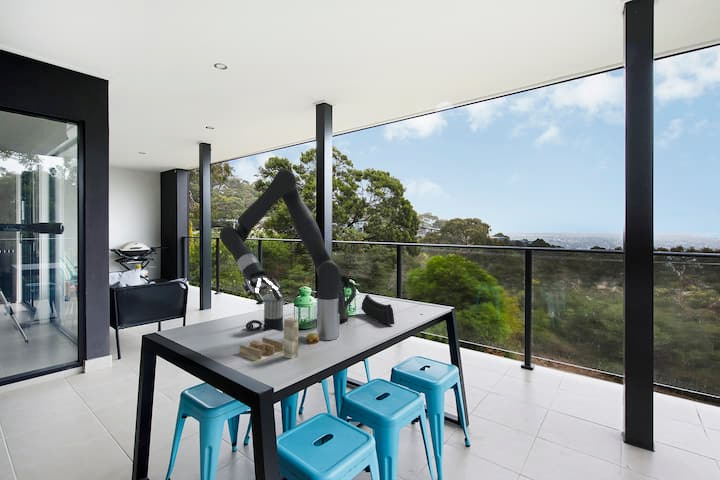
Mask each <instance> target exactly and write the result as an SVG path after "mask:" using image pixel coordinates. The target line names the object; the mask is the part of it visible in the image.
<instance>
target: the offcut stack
mask: <svg viewBox="0 0 720 480" xmlns="http://www.w3.org/2000/svg"><path fill="white" fill-rule="evenodd" d="M253 341H254V340H253ZM253 341H251V342H249V345H248V346H249V347H252V348H256V349H259V350H262V355H265V354H267V350H265V347H266V344H265V343H263V342H262V341H259V340H255V341H254V342H253Z"/></svg>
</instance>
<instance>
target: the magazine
mask: <svg viewBox="0 0 720 480" xmlns="http://www.w3.org/2000/svg"><path fill="white" fill-rule="evenodd" d="M360 307H361V308H360V309H361V311H362V312H363V313H364V314H365V315H366V314H367V315H366V316H368V317H369V318H370V317H371V319H372V318H373V319H372V320H374V319H375V320H374V321H376V320H377V321H376V322H378V321H379V322H378V323H380V324H385V325H389V326H390V325H391V326H393V325H395V317H394V315H395V314H394V309H393V308H392V304H390V303H388V304H383V303H380V302H377V301H376V300H374V299H373V298H372V297H370V295H368V294H365V296H364V298H363V300H362V303H361V306H360Z"/></svg>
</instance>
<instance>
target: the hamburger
mask: <svg viewBox="0 0 720 480" xmlns="http://www.w3.org/2000/svg"><path fill="white" fill-rule="evenodd" d="M319 341H320V339H319V337H318V335H317V333H314V332H313V333H312V332H311V333H307V335H306V336H305V342H306V343H307V344H317V343H319Z"/></svg>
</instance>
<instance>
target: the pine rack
mask: <svg viewBox="0 0 720 480" xmlns="http://www.w3.org/2000/svg"><path fill="white" fill-rule="evenodd" d="M254 341H256V340H252V342H254ZM261 342H263V343H265V344H266V347H265V350H267V354H265V355H262V350H259V349H256V348H252V347H249V346H250V345H244V344H243V343H242V344H239V352H237V353H236V355H238V356H240V357H243V358H246V359H249V360H253V361H256V362H259V361H262V360H264V359H267V358H269V357H270V358H271V357H273V356H275V355H278V354H280V353H284V341H278V340H276V339H275V340H274V339H270V338H267V337H261Z"/></svg>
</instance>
